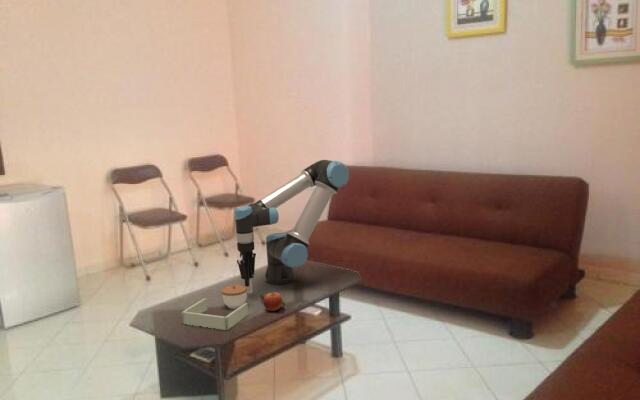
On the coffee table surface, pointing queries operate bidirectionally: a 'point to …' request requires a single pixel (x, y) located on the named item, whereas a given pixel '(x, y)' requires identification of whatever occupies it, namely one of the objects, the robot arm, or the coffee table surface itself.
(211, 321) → the bin
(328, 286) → the coffee table surface
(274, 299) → the apple
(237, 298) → the lidded jar
